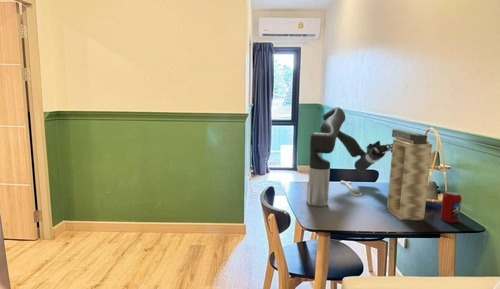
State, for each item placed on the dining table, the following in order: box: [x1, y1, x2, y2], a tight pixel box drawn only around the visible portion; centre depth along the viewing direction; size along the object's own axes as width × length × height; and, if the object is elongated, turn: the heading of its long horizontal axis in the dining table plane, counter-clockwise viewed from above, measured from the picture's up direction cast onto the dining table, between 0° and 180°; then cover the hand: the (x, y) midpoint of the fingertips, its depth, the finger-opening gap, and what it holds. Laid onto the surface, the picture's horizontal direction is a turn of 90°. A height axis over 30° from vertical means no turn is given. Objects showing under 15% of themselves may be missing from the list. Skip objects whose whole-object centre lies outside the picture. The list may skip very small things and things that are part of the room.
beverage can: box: [440, 190, 462, 223], centre depth 146 cm, size 7×7×12 cm
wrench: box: [340, 180, 363, 197], centre depth 192 cm, size 28×2×6 cm
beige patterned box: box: [386, 137, 433, 221], centre depth 150 cm, size 10×13×33 cm
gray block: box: [391, 128, 428, 144], centre depth 151 cm, size 5×22×4 cm, turn 3°
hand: (388, 142), depth 170 cm, fingers open, 8 cm apart
